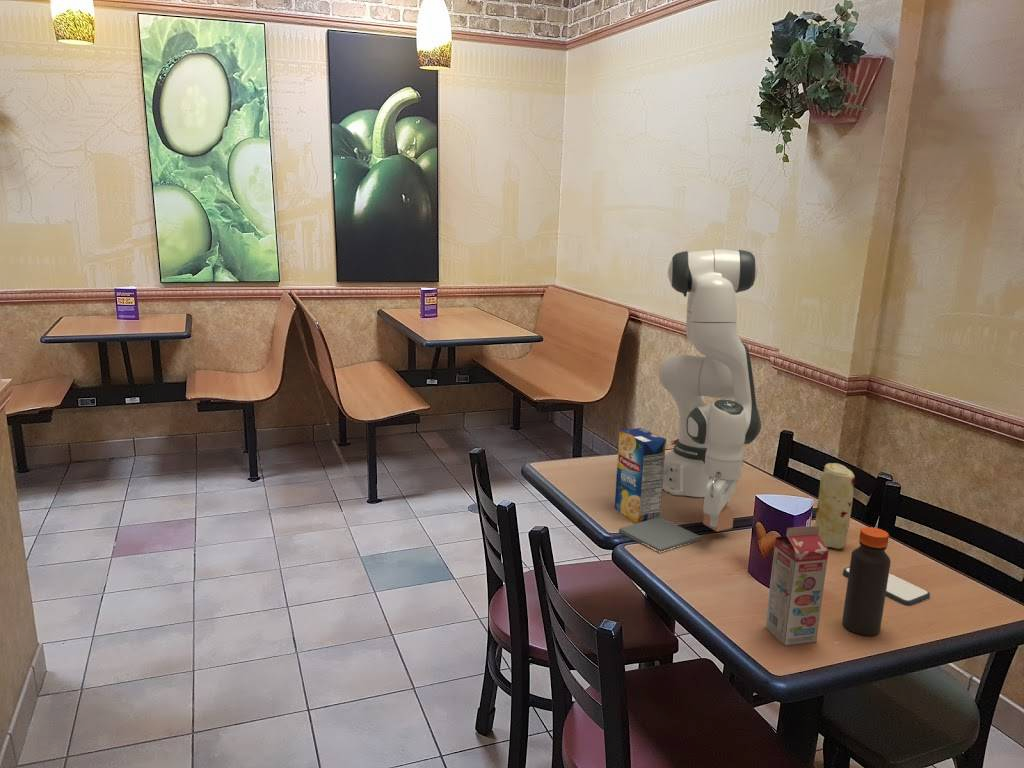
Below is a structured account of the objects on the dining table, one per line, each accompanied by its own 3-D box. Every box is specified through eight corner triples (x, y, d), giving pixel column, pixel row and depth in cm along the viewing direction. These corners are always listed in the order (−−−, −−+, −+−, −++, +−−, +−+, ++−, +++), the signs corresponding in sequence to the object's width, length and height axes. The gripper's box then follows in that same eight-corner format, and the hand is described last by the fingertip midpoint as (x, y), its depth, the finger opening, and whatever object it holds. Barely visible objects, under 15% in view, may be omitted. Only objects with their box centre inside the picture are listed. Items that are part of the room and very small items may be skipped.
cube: (703, 523, 187) (704, 505, 186) (718, 520, 189) (720, 501, 188) (716, 531, 182) (718, 512, 181) (732, 528, 185) (734, 509, 183)
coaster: (618, 532, 186) (619, 528, 186) (658, 520, 194) (658, 516, 194) (659, 553, 175) (660, 549, 175) (700, 540, 183) (700, 536, 183)
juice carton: (765, 626, 145) (777, 521, 140) (795, 623, 147) (808, 518, 142) (784, 645, 139) (798, 535, 134) (816, 641, 140) (830, 533, 135)
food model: (853, 550, 180) (864, 472, 175) (829, 553, 178) (840, 473, 174) (827, 534, 189) (837, 458, 184) (804, 536, 187) (813, 460, 183)
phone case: (931, 599, 159) (864, 567, 172) (933, 593, 158) (865, 560, 172) (906, 609, 154) (839, 575, 168) (908, 602, 154) (840, 569, 167)
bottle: (887, 636, 143) (902, 539, 138) (853, 637, 142) (867, 539, 138) (867, 617, 149) (881, 524, 145) (835, 618, 149) (848, 524, 144)
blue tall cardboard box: (638, 524, 192) (644, 442, 187) (614, 508, 201) (619, 430, 196) (659, 520, 195) (666, 439, 190) (635, 505, 204) (640, 427, 199)
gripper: (726, 482, 172) (721, 538, 175) (744, 457, 189) (739, 508, 192) (699, 477, 175) (694, 532, 178) (719, 453, 192) (715, 503, 195)
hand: (718, 519), depth 185 cm, fingers closed on cube, 7 cm apart
